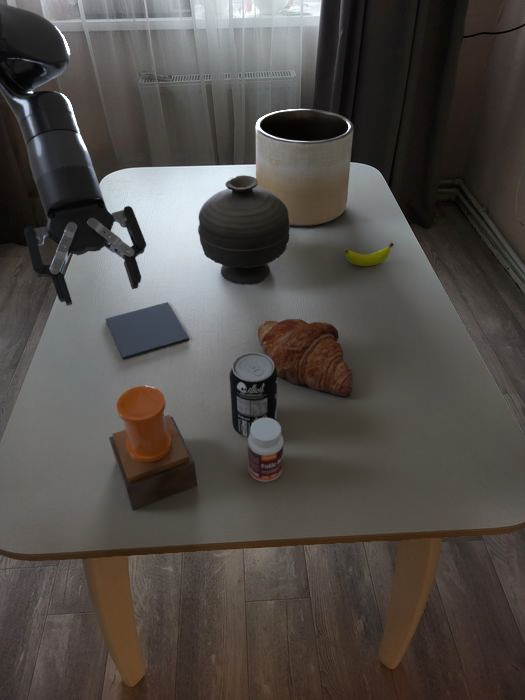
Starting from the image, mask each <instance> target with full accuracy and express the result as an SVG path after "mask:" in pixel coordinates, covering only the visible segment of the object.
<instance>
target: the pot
mask: <svg viewBox="0 0 525 700" xmlns="http://www.w3.org/2000/svg"><path fill="white" fill-rule="evenodd" d="M257 184H258V181H257V179H256V177H254V176H252V175H243V174H242V175H236V176H235V177H234V176H232V177H229V178H228V180H227V181H225V187H226V189H223V190H220V191H218V192H216V193H215V194H213V195H212V196H210V197H209V198H208V199H207V200H206V201H205V202H204V203H203V205H202V206H201V208H200V209H199V214H198V220H199V222H198V228H197V233H198V236H199V243H200V245H201V248H202V251H203V253H204V256H205V257H206V258H207V259H210V260H211V261H212V262H214V263H217V264H220V265H221V267H220V275H221V277H222V278H223V279H224V280H226V281H227V282H230V283H233V284H235V285H246V286H247V285H254V284H258V283H261V282H264V280H266V279H268V277H270V273H271V268H270V263H272V262H274V261H276V260H277V259H279V258H280V257H281V256H283V254H285V252H286V250H287V248H288V244H289V242H290V229H291V227H290V226H291V225H289V217H288V210H287V208H286V206H285V204H284V203H283V202H282V201H281V200H280V199H279V198H278V197H277V196H275V195H274V194H272V193H270V192H269V191H267V190H265V189H262V188H257V187H256V186H257Z"/></svg>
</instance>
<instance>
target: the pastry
mask: <svg viewBox="0 0 525 700" xmlns="http://www.w3.org/2000/svg"><path fill="white" fill-rule="evenodd" d="M257 337H258V339H259V340H258V341H259V344H260V346H261V348H262V351H263V354H265V355H267V356H268V357H270V358H271V359H272V361H273V363H274V367H275V368H276V370H277V379H280V380H284V381H286V382H289V383H291V384H293V385H295V386H305V387H306V386H307V387H309V388H311V389H312V390H314V391H322V392H325V393H328V394H329V393H330V394H332V395H334V396H335V397H336V396H338V397H342V398H347V397H350V395H351V394H352V390H353V388H352V385H353V377H354V376H353V371H352V369H351V368H350V367H349V365H348V364H347V363H346V362H345V360H344V348H343V347H342V346H341V343H339V342H338V340H339V338H340V334H339V330H338V329H337V327H335V326H334V325H333V324H332V323H328V322H321V321H319V322H318V321H314V322H310V323H308V322H307V321H306V320H303V319H301V318H286V319H282V320H280V321H278V320H266V321H264V322H263V323H262V324H261V325H260V326H259V327H258V328H257Z"/></svg>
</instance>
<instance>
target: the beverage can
mask: <svg viewBox="0 0 525 700" xmlns="http://www.w3.org/2000/svg"><path fill="white" fill-rule="evenodd" d="M229 388H230V404H231V405H230V407H231V423H232V427H233V429H234V431H235V432H236V433H237V434H238V435H240V436H241V437H244V438H246V439H248V437H249V435H250V428H251V425H252V423H253V422H254V421H256V420H257V419H260V418H271V419H274V420H276V421H277V417H278V416H277V413H278V411H277V410H278V409H277V408H278V377H277V370H276V368H275V367H274V363H273V361H272V359H271V358H270V357H269V356H268V355H266V354H265V353H261V352H256V351H255V352H254V351H253V352H251V351H250V352H245V353H243V354H241V355H240V354H239V356H237V357H236V358H235V359H234V360H233V362H232V366H231V369H230V371H229Z"/></svg>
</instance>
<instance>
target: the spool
mask: <svg viewBox="0 0 525 700" xmlns="http://www.w3.org/2000/svg"><path fill="white" fill-rule="evenodd" d="M165 409H166V398H165V396H164V394H163V392H162V391H161V390H160V389H158V388H157V387H155V386H149V385H138V386H135V387H132V388H129V389H128V390H126V391H124V392H123V393H122V394H121V395H119V398H118V399H117V401H116V411H117V414H118V417H119V418H120V419H121V420H122V422H123V425H124V430H125V429H126V433H127V437H128V439H127V442H126V447H127V451H128V453H129V455H130V456H131V457H132V458H133V459H134V460H136V461H139V462H153V461H157V460H159V459H161V458H162V457H164V456H165V455H166V454H167V453H168V452H169V450H170V448H171V445H172V439H171V435H170V432H169V431H168V430H167V429H166V423H165V417H164V416H165V412H164V411H165Z"/></svg>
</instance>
